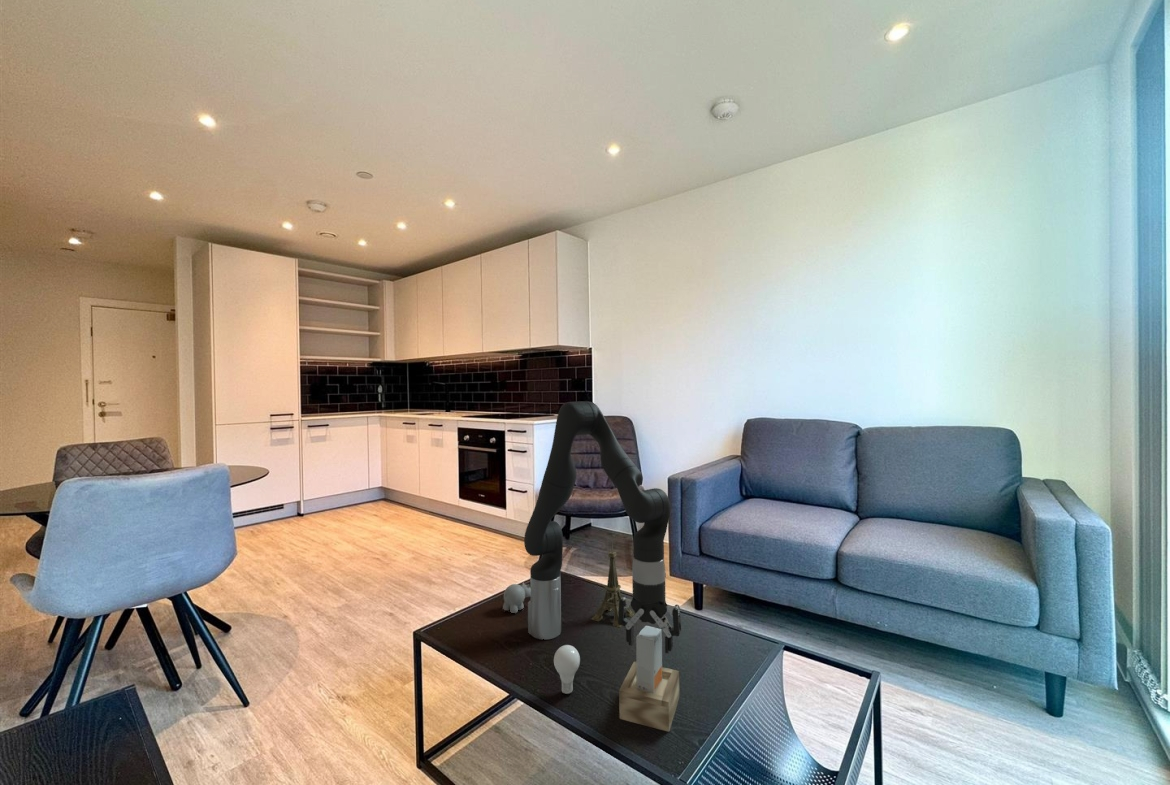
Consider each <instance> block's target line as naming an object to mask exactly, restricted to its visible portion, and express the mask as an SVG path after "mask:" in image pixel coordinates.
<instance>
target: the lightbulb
mask: <svg viewBox="0 0 1170 785" xmlns="http://www.w3.org/2000/svg"><path fill="white" fill-rule="evenodd" d="M580 663H581V657H580V653H579V651H578V650H577V648H575V646H573V645H570V644H564V645H562V646H560V647H559V648H558V649H556V651H555V653H554V657H553V665H554V668H555V670H556V671H557V673H558V675H559V679H560V681H561V692H562V693H563V694H566V695H569V694H571V693H572V692H573V690H574V688H573V686H574V685H573V684H574V683H573V681H574V679H575V675H576V672H577V671H578V669H579V667H580Z"/></svg>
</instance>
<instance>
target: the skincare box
mask: <svg viewBox="0 0 1170 785" xmlns="http://www.w3.org/2000/svg"><path fill="white" fill-rule="evenodd" d="M662 634H663V630H662V629H660V628H657V627H654V626H649V625H645V626H644V627H643V628H642V629H641V630H640V632H638V634H637V635H636V636H635V639H636V640H635V646H636V647H635V649H636V650H635V651H636V652H635V653H636V654H635V656H636V657H635V658H636V659H635V660H636V661H635V662H636V689H637V690H640V691H643V692H647V693H652V694H654V693H655V691H656V689H657V688H658V686H659V685H660V683H661V682H662V667H663V637H662V636H663V635H662Z"/></svg>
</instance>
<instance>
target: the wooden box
mask: <svg viewBox="0 0 1170 785" xmlns="http://www.w3.org/2000/svg"><path fill="white" fill-rule="evenodd" d="M618 692H619V693H618V695H619V696H618V698H619V700H618V702H619V704H618V707H619V708H618V710H619V719H620V720H623V721H627V722H629V723H635V724H638V725H642V726H645V727H649V728H654V729H657V730H661V731H664V732H667V733H668V732H670V730H671V728H672V724H673V721H674V718H675V713H676V711H677V706H678V705H679V704H678V703H679V700H680V670H677V669H673V668H672V669H671V668H668V667H664V666H662V682H661V683H660V685H659V686H658V688H657V689H656V691H655V693H654V694H652V693H647V692H643V691H640V690H637V689H636V661H633V663H632V665H631V666H630V669H629V670H628V672H627V675H626V676H625V678H624V680H623V682H622V684H621V686H620V688H619V690H618Z"/></svg>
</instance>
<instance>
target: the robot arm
mask: <svg viewBox="0 0 1170 785" xmlns="http://www.w3.org/2000/svg"><path fill="white" fill-rule="evenodd" d="M555 422H556V423H555V427H554V434H553V441H552V444H551V449H550V453H549V456H548V461H547V465H546V468H545V470H544V474H543V477H542V481H541V485H540V490H539V493H538V497H537V499H536V503H535V506H534V509H533V511H532V512H531V513H532V514H531V516H530V519H529V521H528V523H527V525H526V529H525V532H524V539H523V544H524V548H525V550H526V553H527V554H528V555H530V556H534V557H537V556H541V557H540V558H539V559H538V560H537V561H536V562H535V563H533V564H532V565H531V567H530V572H529V574H530V575H529V576H530V584H529V587H531V596H530V600H529V601H528V602H527V629H528V630H527V633H529V634H528V635H531V636H532V637H533V638H535V639H537V640H543V639H544V640H545V641H546V640H551V639H554V638H557V637H559V635H561V632H562V608H561V607H562V599H561V598H562V596H561V595H562V592H561V590H562V589H561V588H562V587H561V580H562V579H561V569H562V568H563V567H562V566H563V554H564V553H563V551H564V550H563V549H564V535H563V531H562V526H561V525H560V524H559V522H557V521H554V520H552V519H553V517H555V516H556V514H558V512H559V511H560V510H561V509H562V508H563V507H564V506H565V505H566V503H567V502H568V501H569V499H570V498H571V496H572V493H573V490H574V487H575V484H576V480H577V470H576V469H577V468H576V465H575V463H574V460H573V457H572V454H571V452H572V446H573V444H574V440H575V437H577V436H587V435H590V436H591V437H592V438H593V439H594V440H595V441H596V442H597V444H598V446H599V452H600V454H599V455H600V463H601V464H600V465H601V467H602V469H603V471H604V473H605V474H606V476H607V478H609V479H610V481H611V482H612V484H613V485H614V486H615V488H616V490H617V492H618V495H619V497H620V500H621V503H622V506H623V508H624V510H625V513H626V514H627V516H628V517H629V518H630V519H632V520H633V521H634V522H636V523H638V524H643V525H642V527H641V528H640V529H639V530H637V531H636V532H635V533H634V534H633V539H632V540H633V542H632V544H633V546H632V547H633V553H632V554H633V555H632V558H633V559H632V566H631V567H632V568H631V569H632V574H631V575H632V581H631V582H632V597H631V598H632V599H630V598H627V596H626V595H622V598H621V599H620V601H619V609H618V612H619V614H618V624H619V625H623V627H624V628H625V641H626V643H628V646H633V645H634V643H635V626H634V625H635V624H636V623H637V621H638V620H640V621H641V622H642V623H649V624H652V625H655V624H657V626H658V627H659V629H662V633H664V634H665V636H664V649H665V650H664V653H665V654H669V653H670V652H671V651H672V650H673V646H674V642H673V641H674V637H679V636H680V634H681V632H682V631H681V630H682V620H681V610H680V609H681V607H680V605H679V604H675V605H674V606H673V605H668V604H667V601H666V577H667V576H666V574H667V573H666V563H665V545H664V544H665V542H664V540H665V537H666V534H667V530H668V525H669V522H670V516H671V503H670V499H669V496H668V495H667V493H666V492H665V490H663V489H661V488H658V487H657V488H656V487H653V488H650V489H645V490H644V489H643V490H641V488H640V486H641V484H642V483H643V479H644V477H643V474H642V472H641V470H639V468H638V466H637V465H636V464H635V463H634V462H633V460H631V458H630V457H629V456H628V454H627V453H626V451H624V448H622V445H620V443H619V441H618V440H617V437H616V436H615V434H614V432H613V430H612V429H611V426H610V424H609V423H608V421H607V419H606V417H605V416H604V414H603V412H602V411H601V409H600V407H598V405H597V404H596V403H594V402H592V401H587V400H585V401H581V400H579V401H567V402H565V403H563V404H562V405H561V406H560V408H559V411H558V413H557V417H556V421H555ZM628 607H629V608H631V610H633V611H634V612H633V613H634V615H633V616H632V617H629V619H628V618H627V616H626V609H627V608H628ZM666 613H669V615H670V617H671V618H672V623H673V624H670V622H669V619H668V618H667V616H666ZM672 625H673V626H672Z"/></svg>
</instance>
